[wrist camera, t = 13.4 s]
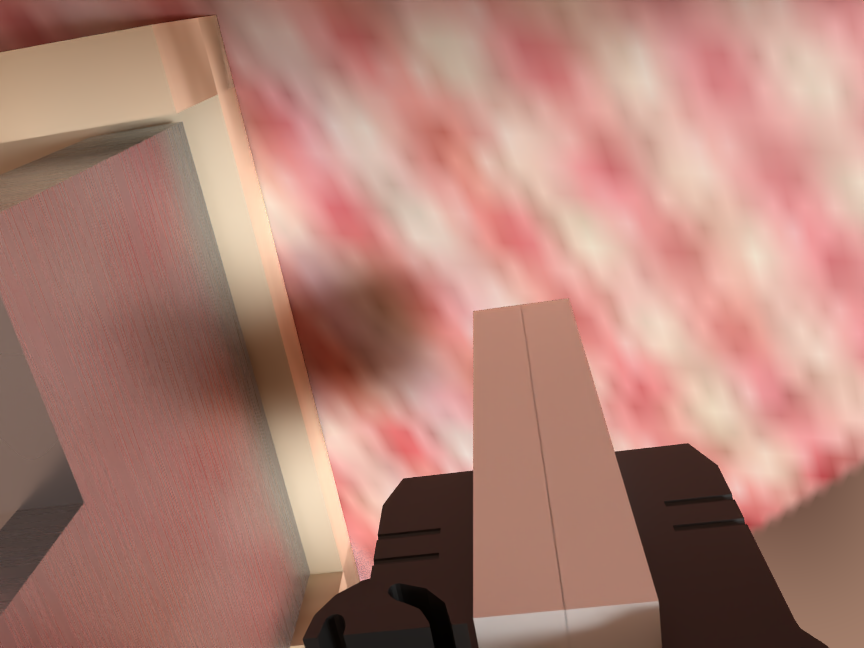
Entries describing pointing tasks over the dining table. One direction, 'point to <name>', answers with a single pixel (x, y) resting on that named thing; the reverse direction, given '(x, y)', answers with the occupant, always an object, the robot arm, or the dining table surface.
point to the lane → (230, 217)
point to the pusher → (132, 415)
